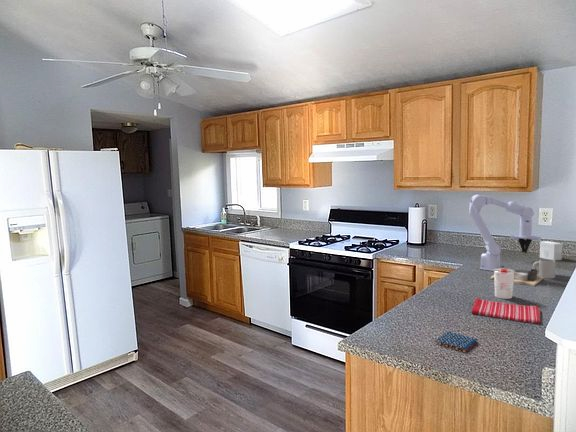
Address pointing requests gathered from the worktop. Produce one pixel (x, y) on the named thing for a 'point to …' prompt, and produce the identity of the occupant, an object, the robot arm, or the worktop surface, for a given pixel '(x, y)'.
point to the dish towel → (507, 311)
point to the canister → (503, 282)
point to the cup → (546, 268)
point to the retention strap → (517, 270)
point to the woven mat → (456, 341)
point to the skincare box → (550, 250)
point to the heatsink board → (532, 283)
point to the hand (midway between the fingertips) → (524, 252)
